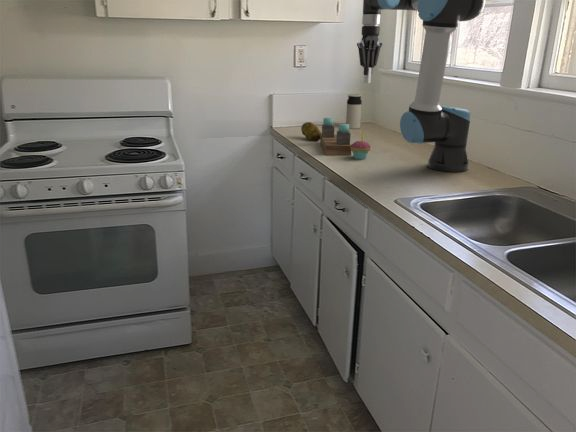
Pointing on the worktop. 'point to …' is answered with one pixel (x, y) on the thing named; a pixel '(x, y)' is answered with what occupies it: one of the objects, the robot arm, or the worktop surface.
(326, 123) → the knob far
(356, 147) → the cupcake
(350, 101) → the travel mug
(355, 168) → the worktop surface
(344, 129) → the knob near
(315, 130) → the potato
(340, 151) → the mount
